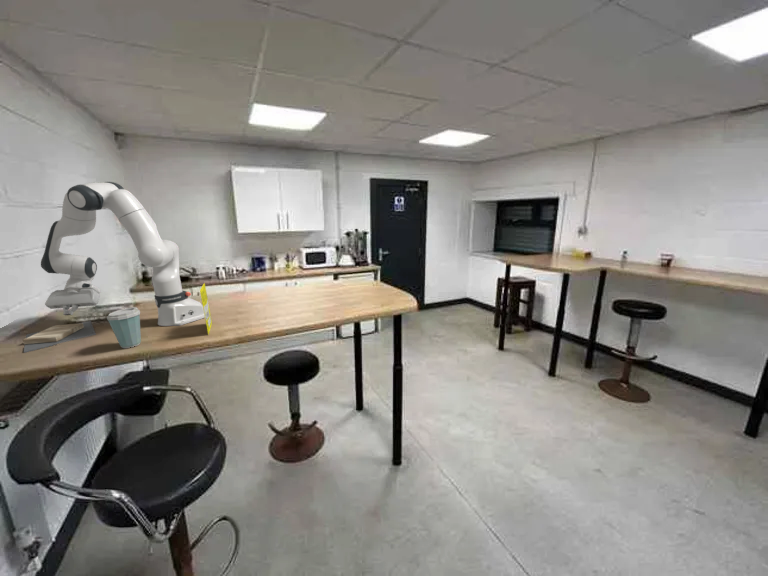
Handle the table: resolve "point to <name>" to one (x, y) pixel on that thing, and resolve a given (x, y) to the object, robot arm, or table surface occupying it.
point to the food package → (206, 307)
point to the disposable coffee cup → (126, 326)
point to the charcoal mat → (81, 333)
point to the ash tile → (53, 334)
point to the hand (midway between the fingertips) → (67, 314)
